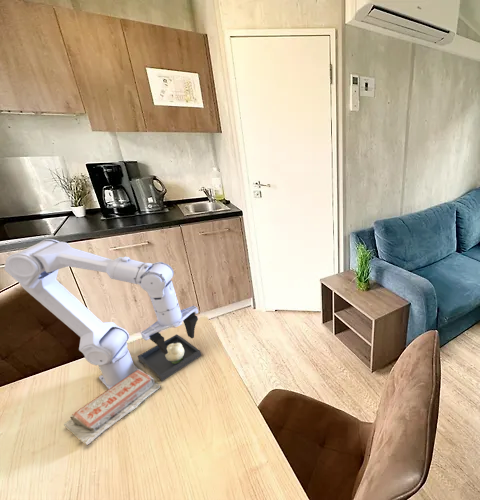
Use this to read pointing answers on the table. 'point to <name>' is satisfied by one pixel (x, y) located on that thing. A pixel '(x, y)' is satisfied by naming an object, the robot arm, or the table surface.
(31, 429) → the table surface
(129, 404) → the packaged product
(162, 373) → the tray
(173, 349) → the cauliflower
